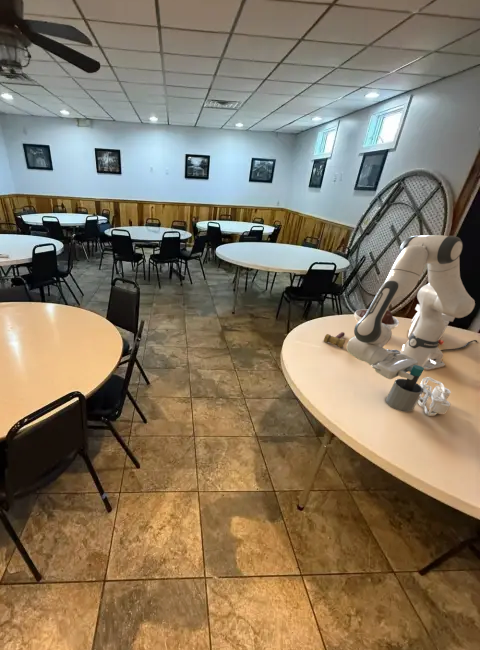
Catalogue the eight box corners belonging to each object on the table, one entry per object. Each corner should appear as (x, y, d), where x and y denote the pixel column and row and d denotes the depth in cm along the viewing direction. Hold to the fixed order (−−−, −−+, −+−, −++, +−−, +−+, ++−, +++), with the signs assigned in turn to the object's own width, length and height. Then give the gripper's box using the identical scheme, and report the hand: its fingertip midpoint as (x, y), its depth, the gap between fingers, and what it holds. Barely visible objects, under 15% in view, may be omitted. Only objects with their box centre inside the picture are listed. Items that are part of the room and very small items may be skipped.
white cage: (443, 421, 123) (452, 406, 120) (411, 409, 129) (419, 394, 125) (444, 398, 138) (452, 384, 134) (415, 388, 143) (423, 374, 139)
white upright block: (438, 331, 205) (452, 305, 196) (440, 347, 183) (456, 319, 174) (405, 323, 213) (417, 297, 204) (403, 338, 191) (416, 310, 182)
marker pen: (405, 390, 130) (418, 364, 123) (411, 395, 127) (426, 369, 120) (397, 391, 129) (411, 365, 123) (404, 396, 126) (418, 370, 120)
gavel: (336, 326, 190) (353, 332, 185) (334, 333, 192) (351, 339, 187) (325, 334, 175) (343, 340, 170) (322, 342, 177) (340, 348, 172)
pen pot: (400, 396, 136) (409, 378, 131) (418, 411, 128) (429, 392, 123) (380, 397, 134) (389, 379, 129) (397, 412, 126) (408, 393, 121)
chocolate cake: (341, 323, 204) (349, 301, 197) (373, 322, 210) (382, 300, 203) (368, 340, 184) (378, 316, 176) (402, 338, 190) (413, 315, 182)
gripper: (371, 358, 126) (406, 375, 116) (399, 348, 136) (433, 363, 126) (366, 371, 129) (399, 389, 120) (393, 361, 139) (425, 377, 129)
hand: (416, 376), depth 123 cm, fingers open, 4 cm apart
